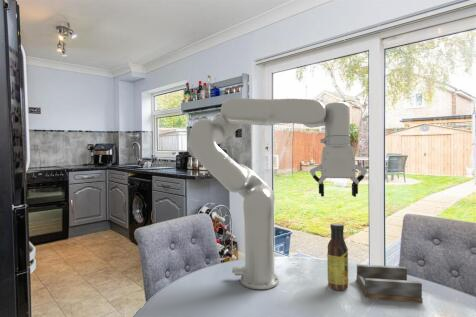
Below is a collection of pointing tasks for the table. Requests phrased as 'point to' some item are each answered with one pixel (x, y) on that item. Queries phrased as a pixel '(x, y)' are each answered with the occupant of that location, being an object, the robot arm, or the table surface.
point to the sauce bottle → (337, 259)
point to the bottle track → (388, 283)
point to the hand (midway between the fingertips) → (338, 196)
